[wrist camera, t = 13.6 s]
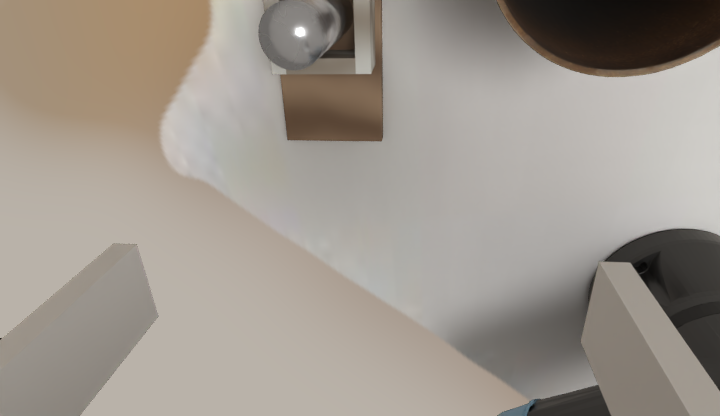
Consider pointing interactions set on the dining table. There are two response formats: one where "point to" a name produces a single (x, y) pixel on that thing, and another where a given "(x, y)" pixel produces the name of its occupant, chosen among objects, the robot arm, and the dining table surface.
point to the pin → (303, 30)
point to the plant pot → (616, 32)
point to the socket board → (339, 84)
